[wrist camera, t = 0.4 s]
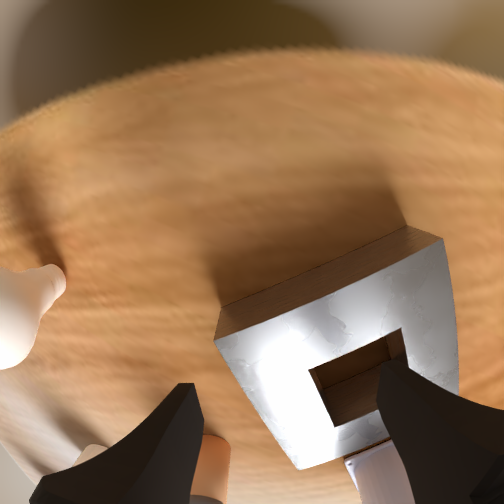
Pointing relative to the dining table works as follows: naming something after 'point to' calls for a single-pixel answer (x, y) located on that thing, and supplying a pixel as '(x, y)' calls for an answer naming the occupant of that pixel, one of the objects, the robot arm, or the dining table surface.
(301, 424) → the block
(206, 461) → the pin
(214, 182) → the dining table surface
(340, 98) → the dining table surface
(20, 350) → the lightbulb
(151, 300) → the dining table surface
